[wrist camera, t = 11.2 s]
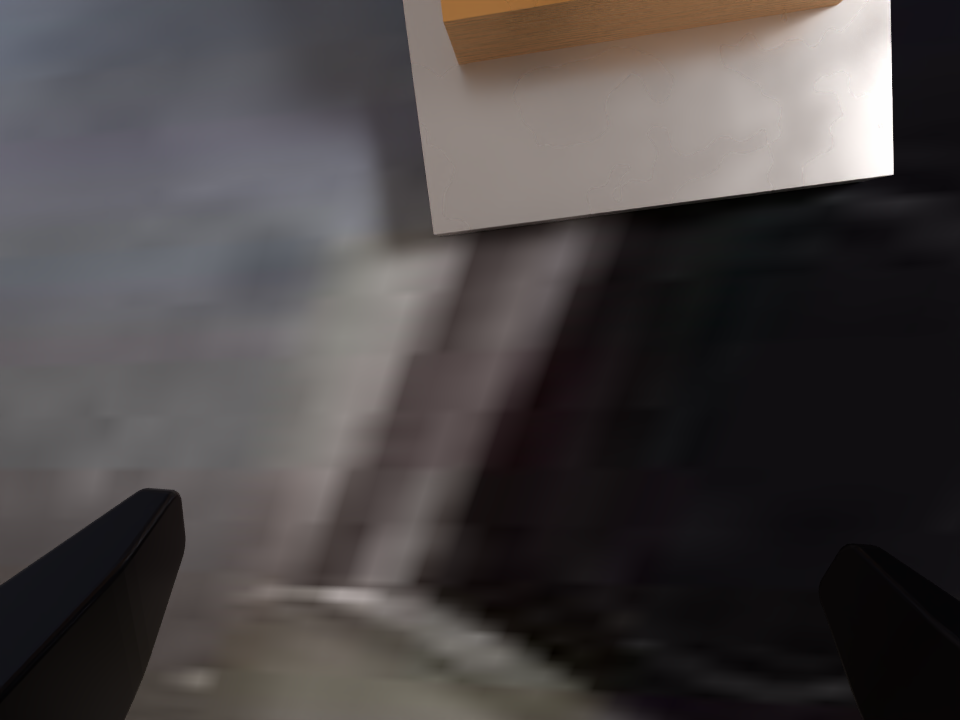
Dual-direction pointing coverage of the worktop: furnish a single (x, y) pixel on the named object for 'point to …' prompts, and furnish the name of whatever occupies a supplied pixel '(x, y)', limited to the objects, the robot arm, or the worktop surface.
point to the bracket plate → (643, 103)
